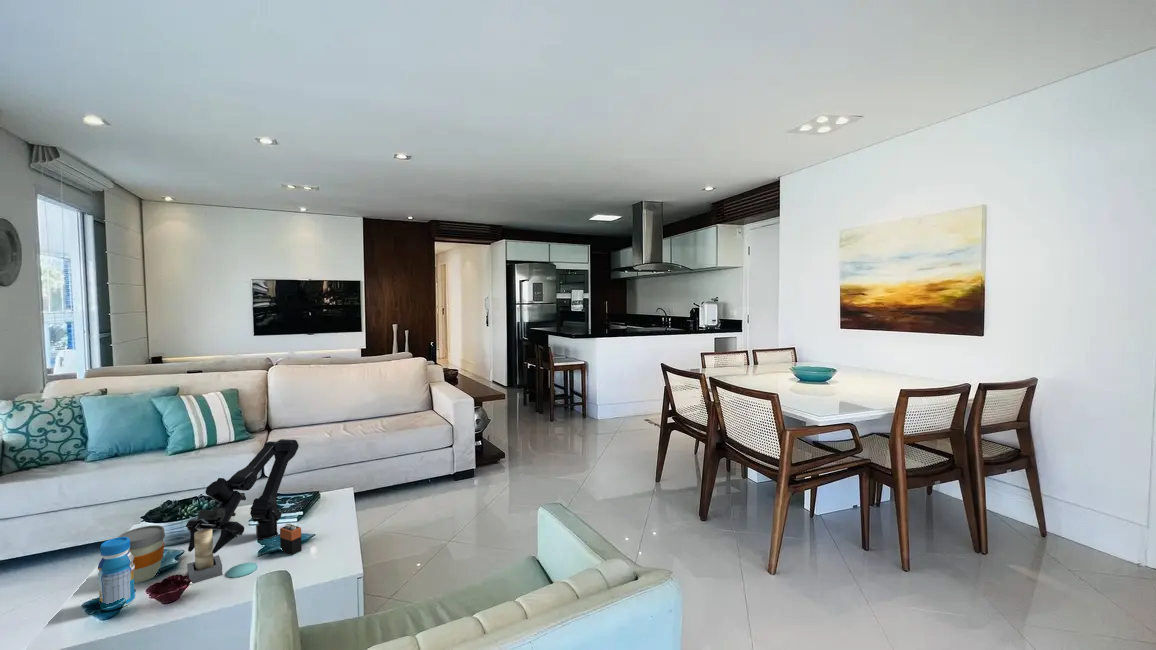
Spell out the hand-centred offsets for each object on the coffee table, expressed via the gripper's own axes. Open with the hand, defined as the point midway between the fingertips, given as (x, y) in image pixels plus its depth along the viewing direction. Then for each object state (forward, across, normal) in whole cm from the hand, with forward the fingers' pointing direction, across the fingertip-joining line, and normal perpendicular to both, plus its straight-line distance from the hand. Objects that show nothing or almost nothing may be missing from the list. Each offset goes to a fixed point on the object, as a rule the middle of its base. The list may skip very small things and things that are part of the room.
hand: (201, 552), depth 169 cm
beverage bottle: (+18, -12, -6) cm, 23 cm away
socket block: (+5, 0, +7) cm, 8 cm away
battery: (-8, +19, +20) cm, 28 cm away
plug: (+5, 0, +7) cm, 8 cm away
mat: (+2, +11, +9) cm, 15 cm away
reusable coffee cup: (+8, -20, +4) cm, 22 cm away
